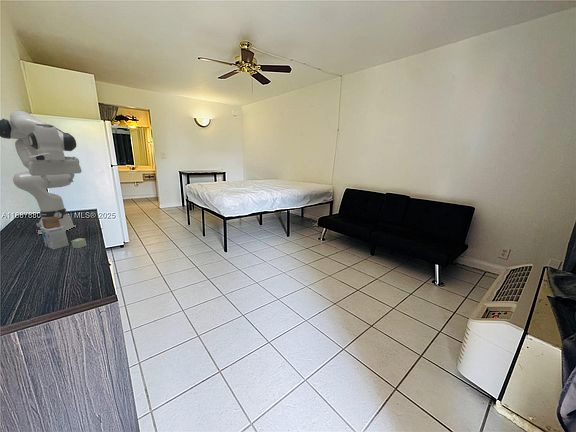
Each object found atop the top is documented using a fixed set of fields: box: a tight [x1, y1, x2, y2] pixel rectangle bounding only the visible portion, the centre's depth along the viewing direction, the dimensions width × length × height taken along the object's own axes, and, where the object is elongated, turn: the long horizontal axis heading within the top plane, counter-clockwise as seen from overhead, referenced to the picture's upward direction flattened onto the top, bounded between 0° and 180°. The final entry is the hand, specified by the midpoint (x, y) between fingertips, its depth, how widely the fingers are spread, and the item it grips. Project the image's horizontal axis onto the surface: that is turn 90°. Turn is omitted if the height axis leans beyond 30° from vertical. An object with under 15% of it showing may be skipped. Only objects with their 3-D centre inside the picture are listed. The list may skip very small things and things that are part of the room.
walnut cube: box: [42, 217, 60, 229], centre depth 123 cm, size 5×5×5 cm
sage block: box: [71, 237, 88, 249], centre depth 124 cm, size 4×4×4 cm
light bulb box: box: [39, 226, 70, 250], centre depth 125 cm, size 11×7×11 cm, turn 62°
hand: (60, 183), depth 126 cm, fingers open, 8 cm apart
